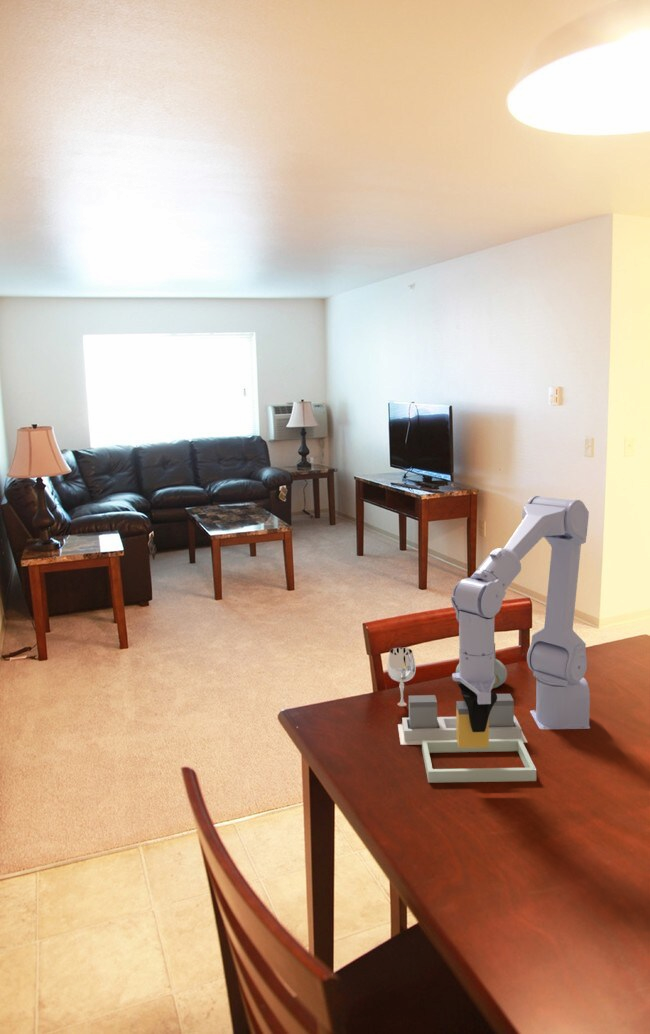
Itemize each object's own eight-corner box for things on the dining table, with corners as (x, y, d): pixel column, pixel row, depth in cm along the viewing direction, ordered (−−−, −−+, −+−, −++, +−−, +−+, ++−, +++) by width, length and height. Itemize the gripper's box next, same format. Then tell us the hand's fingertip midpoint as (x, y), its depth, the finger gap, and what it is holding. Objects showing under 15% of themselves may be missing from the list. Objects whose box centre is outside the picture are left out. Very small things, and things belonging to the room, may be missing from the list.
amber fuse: (485, 738, 123) (485, 700, 122) (488, 747, 120) (488, 708, 119) (456, 739, 123) (456, 701, 122) (458, 747, 120) (458, 708, 119)
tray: (520, 751, 127) (521, 738, 127) (536, 784, 117) (536, 770, 116) (422, 753, 128) (421, 740, 127) (428, 785, 117) (428, 771, 117)
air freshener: (456, 692, 153) (456, 648, 151) (455, 677, 161) (454, 635, 159) (508, 693, 151) (509, 649, 149) (504, 678, 159) (505, 635, 157)
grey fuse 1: (435, 729, 135) (435, 695, 134) (437, 737, 132) (437, 702, 131) (409, 730, 135) (408, 695, 134) (410, 737, 132) (409, 702, 131)
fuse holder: (517, 725, 137) (517, 712, 137) (527, 745, 129) (527, 732, 129) (397, 727, 138) (397, 714, 138) (400, 747, 130) (400, 734, 130)
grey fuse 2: (509, 728, 135) (510, 693, 133) (513, 736, 132) (513, 700, 130) (483, 728, 135) (483, 694, 134) (486, 736, 132) (486, 701, 131)
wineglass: (415, 700, 149) (415, 646, 147) (416, 713, 144) (415, 656, 142) (388, 700, 150) (387, 646, 148) (388, 712, 144) (386, 656, 142)
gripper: (446, 635, 126) (447, 707, 128) (459, 667, 112) (459, 747, 114) (486, 634, 126) (486, 706, 128) (504, 666, 111) (503, 746, 114)
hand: (476, 726), depth 121 cm, fingers closed on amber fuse, 3 cm apart
